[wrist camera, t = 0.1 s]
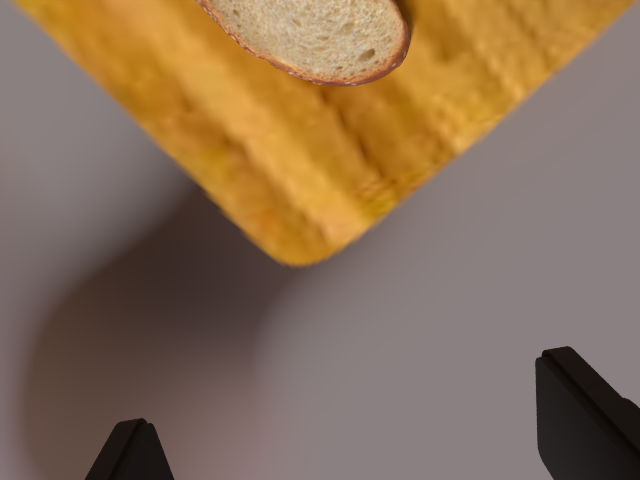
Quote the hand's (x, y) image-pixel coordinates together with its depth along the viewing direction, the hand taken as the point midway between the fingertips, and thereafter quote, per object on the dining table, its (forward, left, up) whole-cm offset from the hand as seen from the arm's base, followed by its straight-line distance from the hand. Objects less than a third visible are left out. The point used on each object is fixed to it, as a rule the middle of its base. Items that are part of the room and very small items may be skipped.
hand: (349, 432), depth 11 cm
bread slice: (-17, +1, -32) cm, 36 cm away
